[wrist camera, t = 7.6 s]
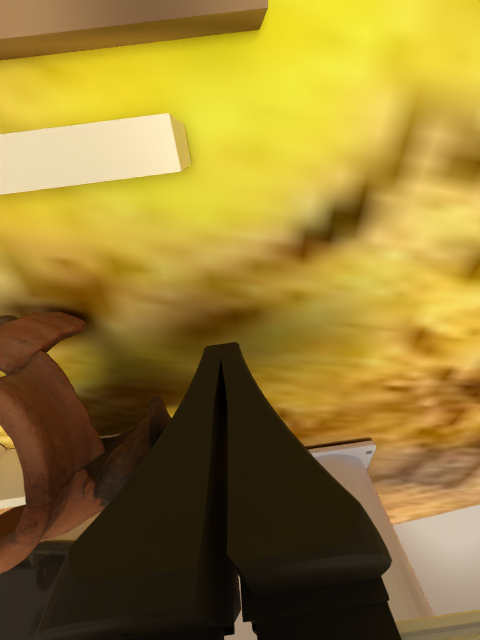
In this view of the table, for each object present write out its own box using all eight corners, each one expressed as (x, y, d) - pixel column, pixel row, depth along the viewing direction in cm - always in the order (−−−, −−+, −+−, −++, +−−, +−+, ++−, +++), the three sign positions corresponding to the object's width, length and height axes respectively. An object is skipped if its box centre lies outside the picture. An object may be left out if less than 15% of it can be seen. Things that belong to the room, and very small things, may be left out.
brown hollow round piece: (28, 432, 16) (-212, 576, 8) (48, 289, 15) (-207, 283, 7) (206, 481, 15) (148, 692, 7) (241, 337, 14) (218, 392, 6)
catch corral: (239, 426, 17) (244, 474, 14) (1, 459, 16) (-36, 513, 14) (184, 124, 7) (168, 112, 5) (-363, 193, 7) (-661, 217, 5)
